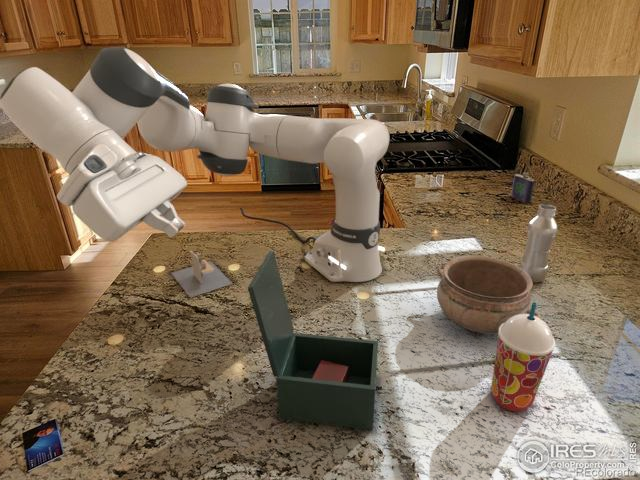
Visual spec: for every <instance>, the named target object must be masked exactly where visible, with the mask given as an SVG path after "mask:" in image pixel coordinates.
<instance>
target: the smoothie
mask: <svg viewBox="0 0 640 480" xmlns="http://www.w3.org/2000/svg"><path fill="white" fill-rule="evenodd" d="M531 303H532V305H531V310H530V314H517V315H515V316H513V317H511V318H509V319H508V320H507V321H506V322H505V323H503V324H501V326H500V327H499V332H498V333H497V339H496V340H497V341H496V349H495V356H494V363H493V364H494V365H493V372H492V378H491V379H492V380H491V386H490V387H491V388H490V390H491V393H492V396H493V398H494V400H495V402H496V403H497V405H499V406H500V407H501V408H503V409H506V410H507V411H511V412H518V413H519V412H523V411H525V410H527V409H528V408H530V407H531V406H532V405H533V404H534V401H535V398H536V397H537V393H538V391H539V388H540V387H541V383H542V380H543V378H544V375H545V372H546V370H547V367H548V364H549V362H550V359H551V357H552V354H553V352H554V349H555V347H556V339H555V338H554V335H553V332H552V330H551V328H550V327H549V326H548V324H547V323H546V322H545V321H544V320H543V319H542V318H541V319H540V318H539V317H537V316H534V313H535V312H536V309H537V305H538V304H537V302H535V301H533V302H531Z"/></svg>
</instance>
